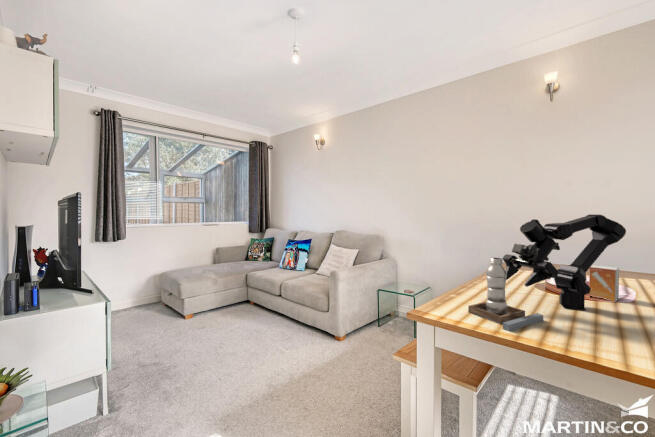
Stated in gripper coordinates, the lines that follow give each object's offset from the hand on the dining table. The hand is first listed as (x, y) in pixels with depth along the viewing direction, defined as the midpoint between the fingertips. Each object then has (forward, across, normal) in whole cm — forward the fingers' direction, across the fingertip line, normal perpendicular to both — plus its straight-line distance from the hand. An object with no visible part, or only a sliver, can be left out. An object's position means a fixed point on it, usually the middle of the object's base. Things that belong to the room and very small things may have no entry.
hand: (514, 282), depth 104 cm
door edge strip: (+12, +9, +4) cm, 16 cm away
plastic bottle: (+13, 0, +2) cm, 13 cm away
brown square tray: (+14, 0, +2) cm, 14 cm away
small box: (-26, -5, +43) cm, 50 cm away
